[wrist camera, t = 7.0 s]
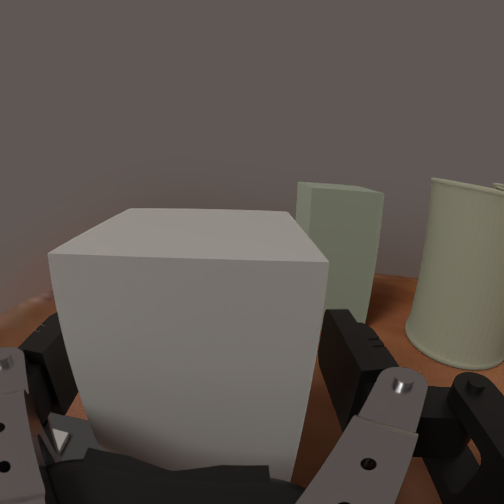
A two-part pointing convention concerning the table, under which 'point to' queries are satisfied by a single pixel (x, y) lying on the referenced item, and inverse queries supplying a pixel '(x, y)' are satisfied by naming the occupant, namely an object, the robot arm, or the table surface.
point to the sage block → (343, 239)
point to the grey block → (193, 334)
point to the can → (461, 278)
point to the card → (72, 436)
